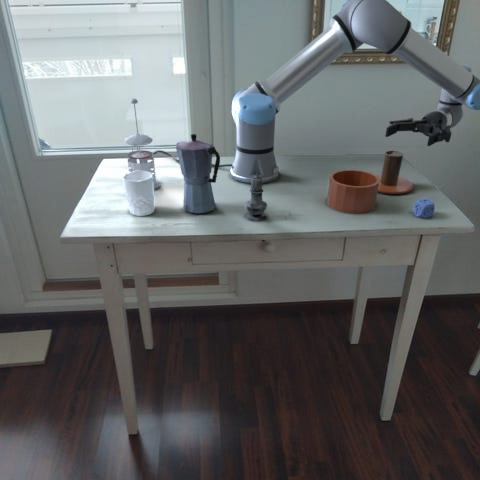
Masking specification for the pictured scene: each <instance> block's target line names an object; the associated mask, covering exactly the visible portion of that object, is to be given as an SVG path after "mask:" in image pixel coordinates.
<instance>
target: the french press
mask: <svg viewBox="0 0 480 480" xmlns="http://www.w3.org/2000/svg"><path fill="white" fill-rule="evenodd" d="M130 104H132V105H133V108H134V116H135V125H136V133H135V134H131V135H129V136H127V137H126V138H125V139H124V143H125V144H126V145H129V146H132V147H131V151H129V152H128V153H127V156H128V158H127V165H128V172H132V171H148V172H151V173H152V174H153V183H154V191H155V190H157V189H159V187H160V185H161V184H160V182H158V181H157V178H156V177H157V176H156V167H155V158H154V157H153V152H152V151H150V150H145V149H144V150H143V149H142V150H141V146H142V147H143V146H147V145H150V144H152V143H153V141H154V139H153V138H152V137H150V136H149V135H148V134H142V133H139V128H138V119H137V111H136V104H138V99H136V98H131V100H130ZM133 147H136V150H134V148H133ZM138 161H139V163H138Z"/></svg>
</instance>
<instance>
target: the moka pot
mask: <svg viewBox="0 0 480 480" xmlns="http://www.w3.org/2000/svg"><path fill="white" fill-rule="evenodd" d="M190 139H191V140H181V141H178V142H177V143H176V146H175V150H176V154H177V159H178V160H179V162H178V163H179V167H180V172H181V175H182V176H183V181H184V182H183V209H184V211H185V212H186V213H191V214H205V213H208V212H212V211H214V210H215V208H216V202H215V197H214V192H213V187H212V183H214V184H215V183H216V182H217V177H218V173H219V172H218V171H219V168H220V167H219V165H221V164H220V163H221V155H220V153H219V152H218V151H217V149H216V147H215V146H213V144H212V143H210V142H209V141H205V140H197V134H195V133H193V134H190ZM213 155H214V156H215V162H214V164H215V167H214V168H213V175H212V178H211V173H212V167H213V166H212V164H213Z"/></svg>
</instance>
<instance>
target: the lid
mask: <svg viewBox="0 0 480 480" xmlns="http://www.w3.org/2000/svg"><path fill="white" fill-rule="evenodd" d="M403 159H404V153H403V152H401V151H397V150H388V151H385V153H384V158H383V163H382V168H381V174H375V175H376V176H377V177H378V178H379V179H380V182H379V188H378V193H382V194H388V195H400V194H405V193H410V192H411V191H412V190H413V189H414V184H413V182H411V180H409V179H407V178H404V177H403V176H400V174H401V167H402V163H403Z"/></svg>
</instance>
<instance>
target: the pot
mask: <svg viewBox="0 0 480 480" xmlns="http://www.w3.org/2000/svg"><path fill="white" fill-rule="evenodd" d="M376 175H377V174H374V173H372V172H369V171H365V170H360V169H341V170H336V171H334V172H332V173H330V176H329V180H328V188H327V196H326V204H327V205H328V206H329V207H330V208H331V209H333V210H334V211H338V212H341V213H345V214H365V213H368V212H372V211H373V210H374V209H375V207H376V204H377V199H378V193H379V192H378V188H379V182H380V179H379V178H378V177H377V176H376Z"/></svg>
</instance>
